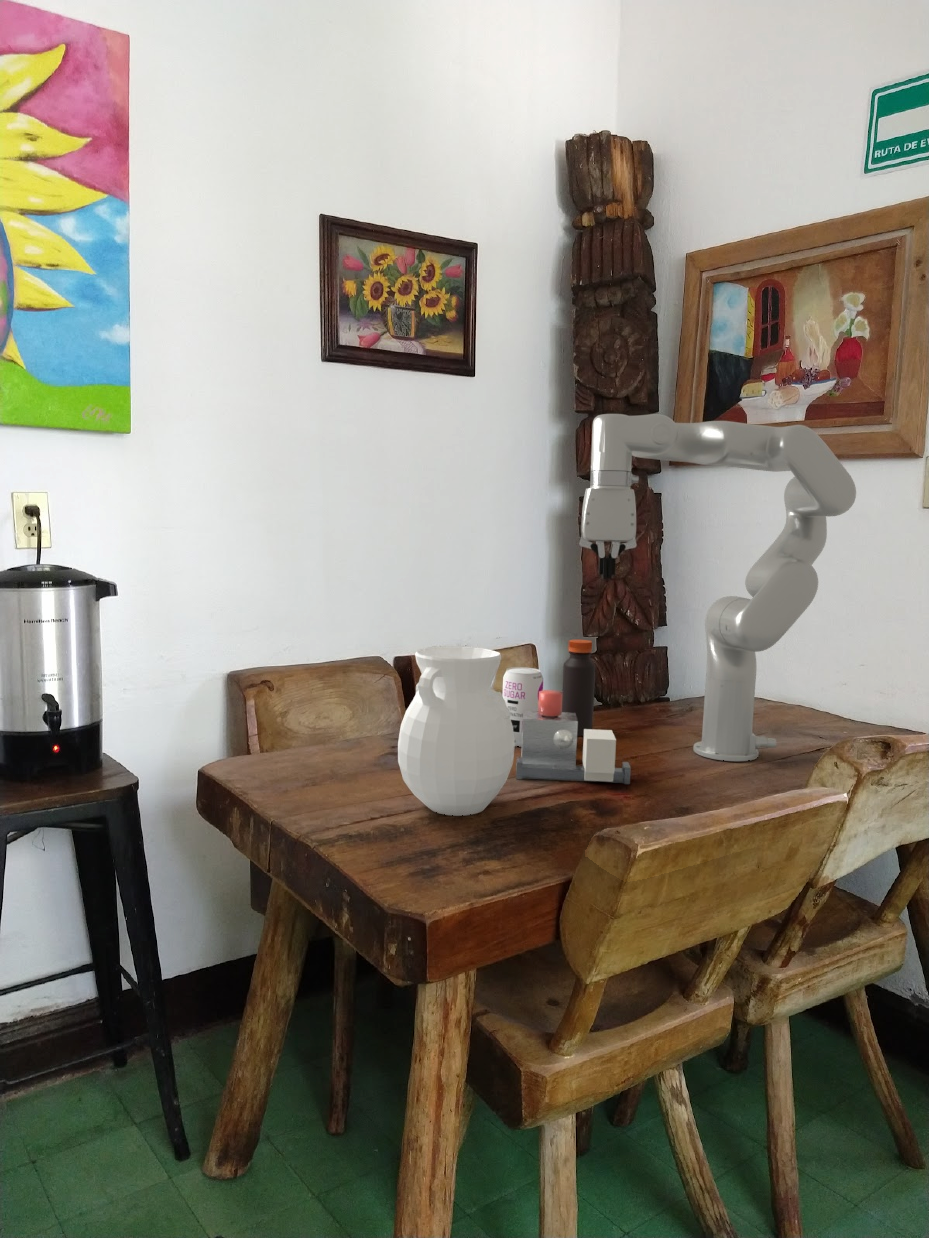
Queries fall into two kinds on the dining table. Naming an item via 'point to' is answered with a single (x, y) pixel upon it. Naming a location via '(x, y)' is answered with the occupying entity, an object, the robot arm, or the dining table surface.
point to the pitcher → (456, 731)
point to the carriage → (599, 755)
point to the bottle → (579, 684)
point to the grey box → (549, 739)
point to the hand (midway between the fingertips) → (606, 578)
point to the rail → (565, 772)
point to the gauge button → (550, 703)
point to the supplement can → (521, 695)
